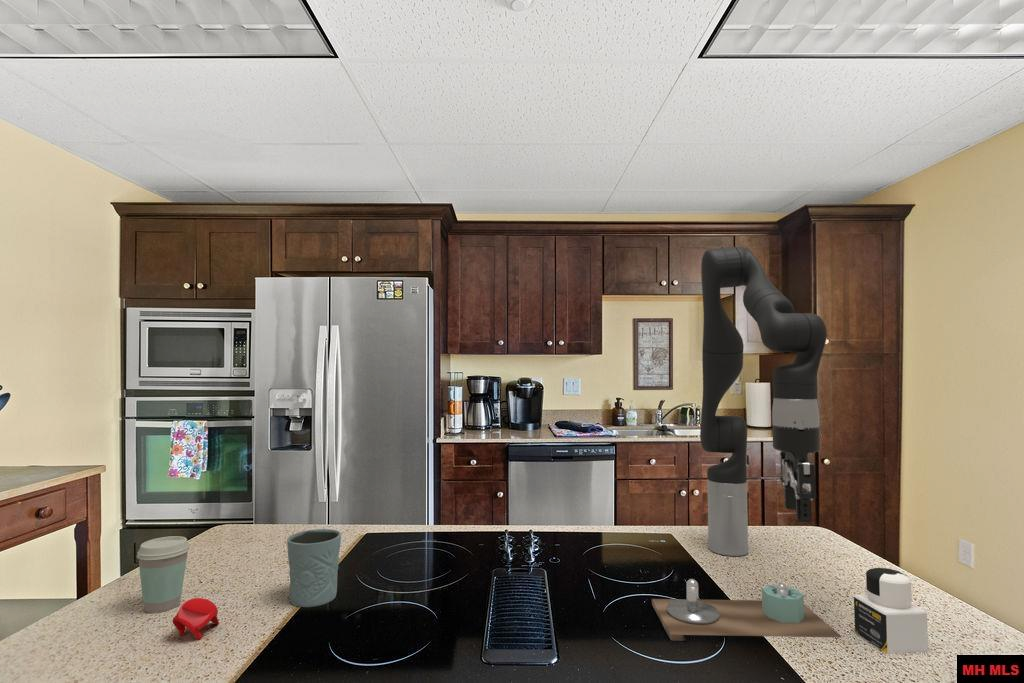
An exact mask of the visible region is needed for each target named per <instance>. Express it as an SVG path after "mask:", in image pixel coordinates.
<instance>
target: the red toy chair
mask: <svg viewBox="0 0 1024 683" xmlns="http://www.w3.org/2000/svg"><path fill="white" fill-rule="evenodd" d="M218 614H219V610H218V607H217V605H216V604H215V603H214V602H213V601H212V600H209V599H207V598H202V597H198V598H197V597H196V598H195V597H194V598H190V599H188V600H186V601H185V602H183V603H182V604H181V606H180V607H179V608H178V610H177V613H176V615H175V616H174V617H173V618H172V624H173V625H174V627H175V628H176V630H177V631H178V634H179V635H180V636H184V635H185V632H186V628H187V629H188V630H189V632H191V634H192V635H193V636H194V637H195V639H196V640H198V641H200V640H201V639H203V634H202V633H201V632H200V630H201V629H202V628H204V627H205V626H207V625H208V624H209V623H212V624H214V625H216V626H217V625H219V623H220V621H219V618H218Z"/></svg>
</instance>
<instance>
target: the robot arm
mask: <svg viewBox="0 0 1024 683" xmlns="http://www.w3.org/2000/svg"><path fill="white" fill-rule="evenodd" d="M700 268H701V270H700V273H701V275H700V276H701V290H702V293H701V294H702V308H703V329H702V330H703V331H702V350H701V351H702V356H701V357H702V364H701V366H702V404H701V405H702V406H701V416H700V432H699V437H700V445H701V448H702V449H703V450H704V451H705V452H708V453H719V454H721V453H722V454H731V456H730V457H729V458H728V459H727V460H724V461H723V462H720V463H718V464H715V465H712V466H709V467H708V468H707V471H706V478H707V481H706V482H707V483H706V484H707V539H708V540H707V541H708V549H709V550H710V551H711V552H713V553H715V554H718V555H722V556H723V555H724V556H731V557H732V556H733V557H741V556H745V555H747V554H749V532H748V531H749V527H748V524H749V522H748V521H749V520H748V515H749V514H748V484H747V483H748V480H747V479H748V477H747V449H748V448H747V447H748V427H747V423H746V422H747V421H746V420H745V419H744V418H743V416H739V415H716V413H717V411H718V407H719V405H720V402H721V401H722V399H723V397H725V394H726V393H727V392H728V391H729V389H730V388H731V387H732V386H733V384H734V383H735V382H736V381H737V379H738V378H739V376H740V375H741V373H742V370H743V368H744V347H745V346H744V345H745V344H744V340H743V338H742V336H741V333H740V332H739V330H738V329H737V327H736V326H735V324H734V323H733V322H732V320H731V319H730V318H729V316H728V314H727V312H726V311H725V308H724V306H723V302H722V298H721V297H722V296H721V289H725V288H738V287H741V286H744V287H745V289H744V292H743V295H742V302H743V306H744V308H745V310H746V312H747V313H748V314H749V315H750V316H751V317H752V319H753V320H754V321H755V322H756V325H757V327H758V330H759V333H760V338H761V341H762V344H763V345H764V346H765V347H766V348H767V349H769V350H770V351H773V352H779V353H789V352H790V353H793V352H794V353H797V354H796V357H795V359H794V361H793V362H792V363H788V364H784V365H780V366H777V367H775V368H774V369H773V372H772V391H773V392H772V396H773V397H772V398H773V399H772V400H773V402H772V408H771V416H772V417H771V420H772V447H773V449H774V450H777V451H780V452H779V456H780V482H781V483H782V488H784V507H785V508H786V510H793V511H795V512H796V517H795V518H796V520H797V521H798V522H799V523H805V524H807V523H808V524H809V523H812V518H813V517H812V516H813V515H812V501H813V500H816V499H817V492H816V490H817V489H816V472H815V471H816V470H815V469H816V465H815V463H814V462H810V461H809V457H808V454H810V453H812V454H815V453H818V452H820V450H821V439H820V438H821V433H820V432H821V430H820V409H819V404H818V389H817V388H818V386H817V383H818V381H817V376H818V372H819V369H820V364H821V359H822V356H823V353H824V350H825V346H826V341H827V336H828V332H827V331H828V330H827V326H826V323H825V322H824V320H823V319H822V317H821V316H820V315H818V314H815V313H811V312H810V313H809V312H804V313H803V312H800V313H798V312H795V309H794V308H795V307H794V305H793V304H792V302H791V301H790V300H789V299H788V298H787V297H786V296H785V295H784V294H783V293H782V292H781V291H780V290H779V289H777V288H776V286H775V285H774V284H773V283H772V281H770V279H769V277H768V276H767V273H766V272H765V270H764V268H763V267H762V265H761V264H760V261H759V260H758V259H757V257H756V256H755V254H754V253H753V252H752V250H751V249H749V247H748V248H747V247H746V246H745V247H744V246H731V247H730V246H729V247H715V248H708V249H706V250H705V251H704V252H703V254H702V257H701V265H700ZM803 489H806V490H803Z"/></svg>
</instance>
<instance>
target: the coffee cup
mask: <svg viewBox="0 0 1024 683" xmlns="http://www.w3.org/2000/svg"><path fill="white" fill-rule="evenodd" d="M190 550H191V547H190V543H189V542H188V538H186V537H185V536H181V535H180V536H176V535H175V536H173V535H172V536H171V535H170V536H163V537H162V536H161V537H158V538H152V539H150V540H146V541H144V542H142V543H141V544H140V546H139V549H138V551H137V555H136V558H137V559H138V566H139V568H138V569H139V576H140V578H139V579H140V588H141V598H142V607H143V608H142V609H143V612H145V613H147V614H148V613H149V614H158V613H163V612H167V611H170V610H173V609H175V608H177V607H178V606H179V605H180V603H181V598H182V593H183V592H182V591H183V586H184V580H185V572H186V566H187V565H186V564H187V559H188V552H189V551H190Z"/></svg>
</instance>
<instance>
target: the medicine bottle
mask: <svg viewBox="0 0 1024 683" xmlns="http://www.w3.org/2000/svg"><path fill="white" fill-rule="evenodd" d="M865 578H866V579H865V580H866V586H865V588H866V594H865V593H863V594H854V596H853V607H854V609H853V610H854V612H853V613H854V615H853V616H854V617H853V618H854V633H856V635H858V636H860V637H862V638H863V639H864V640H865V641H867V642H869V643H870V644H872V645H873V646H875V647H876V648H877V649H879V650H881V651H882V652H884V653H886V654H902V653H903V654H906V653H925V652H927V653H928V652H929V640H928V636H929V635H928V634H929V633H928V613H927V611H926V610H924V609H922V607H919V606H918V605H915V604H913V603H912V602H913V598H912V597H913V595H912V579H911V578H910V577H909V576H908V575H906V574H904V573H903V572H901V571H899V570H896V569H891V568H886V567H874V568H873V567H872V568H869V569H868V570H867V571H866V572H865Z"/></svg>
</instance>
